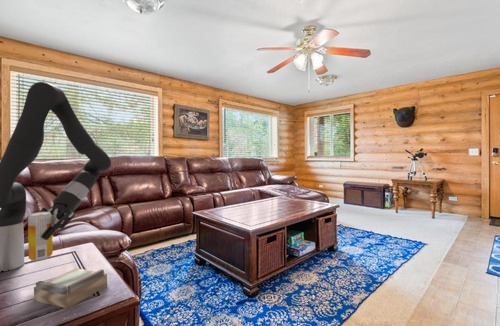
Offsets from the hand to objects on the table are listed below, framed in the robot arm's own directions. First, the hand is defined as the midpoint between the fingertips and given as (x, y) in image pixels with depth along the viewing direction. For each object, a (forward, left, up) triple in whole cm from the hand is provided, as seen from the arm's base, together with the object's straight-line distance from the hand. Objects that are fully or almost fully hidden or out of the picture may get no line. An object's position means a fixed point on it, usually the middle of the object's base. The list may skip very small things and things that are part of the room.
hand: (36, 237), depth 80 cm
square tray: (+14, +1, -17) cm, 22 cm away
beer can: (0, +1, -8) cm, 8 cm away
